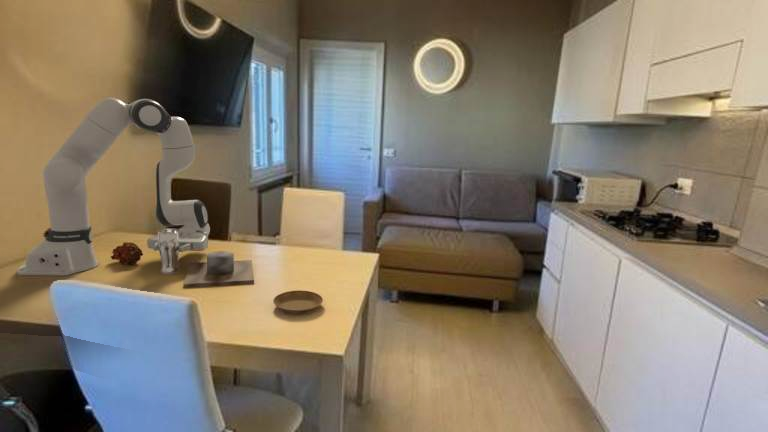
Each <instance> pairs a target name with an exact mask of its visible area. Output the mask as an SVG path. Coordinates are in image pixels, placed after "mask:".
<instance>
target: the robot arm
mask: <svg viewBox="0 0 768 432" xmlns="http://www.w3.org/2000/svg"><path fill="white" fill-rule="evenodd" d="M130 126H135V127H137V128H138V129H140V130H142V131H143V130H144V131H147V132H151V133H156V134H157V135H158V137H159V139H160V142H161V148H162V157H161V160H160V161H158V163H157V164H156V168H155V169H156V171H155V178H156V179H155V181H156V207H155V218H156V221H157V222H158V223H159V224H161V225H162V226H163V227H165V228H170V227H175V226H182V227H180V228H178V230H179V237H180V247H179V253H183V252H188V251H189V252H190V251H191V252H204V251H205V250H207V249H208V248H209V247H208V246H209V235H210V232H211V227H210V224H209V211H208V208H207V206H206V205H205V204H204V202H202V201H201V200H200V199H188V200H187V199H186V200H173V199H172V193H171V190H172V189H171V187H172V185H171V184H172V183H171V180H172V178H173V177H174V176H175V175H176V174H178V173H179V172H182V171H185V170H186V169H188V168H190V167H191V166H192V164H193V163H194V162H195V159H196V151H195V150H196V148H195V145H194V139H193V135H192V132H191V129H190V126H189V125H188V122H187V120H186V119H184V118H182V117H180V116H171V115H170V114H169V112H167V111H166V109H165V108H164V107H163V106H162V105H161V104H160V103H158V102H157V101H155V100H153V99H150V98H141V99H137V100H134V101H131V102H128V103H125V102H123V100H120V99H118V98H115V97H106V98H104V99H103V100H102V101H100V102H99V103H97V105H96V106H94V107H93V108H92V109H91V110H90V111H89V112H88V114H86V117H84V118H83V119H82V121H81V122H80V123H79V125H78V126H77V127H76V128H75V130H74V131H72V133H71V134H70V136H69V137H68V138H67V139H66V140H65V142H64V143H63V144H62V145H61V147H60V148H59V149H58V150H57V152H56V153H55V154H54V155H53V156H52V158H51V159H50V160H49V161H48V162H47V163H46V165H45V166H44V168H43V170H42V171H43V172H42V177H43V182H44V183H43V184H44V189H45V191H44V192H45V195H46V202H47V205H48V214H49V215H48V216H49V224H50V226H49V227H48V228H47V229H46V230H45V231H44V232H43V233H42V236H43V237H44V240H43V241H42V242H41V243H39V244H37V245H36V246H35V247H34V248H32V249H31V250H30V251H28V253H27V254H26V257H25V258H26V259H25V263H24V264H22V265H21V266H20V267H18V269H17V275H18V276H68V275H72V274H76V273H79V272H84V271H87V270H91V269H94V268H95V267H97V266H99V261H98V260H97V257H96V254H95V251H94V247H93V238H94V237H93V231H92V230H93V229H92V226H91V224H90V214H89V205H88V196H87V195H88V193H87V186H86V185H87V184H86V176H87V175H88V174H89V173H90V171H91V170H92V169H93V168H94V167H95V165H96V164H97V163H98V162H99V161H100V160H101V159H102V157H104V155H105V154H106V153H107V152H108V150H109V149H110V148H111V146H113V144H114V143H115V141H117V139H118V137H119V136H120V135H121V133H122V132H123V131H124V130H125V129H126V128H128V127H130ZM146 246H147V248H148V249H151V250H152V249H153V251H157V252H158V251H159V248H158V234H157V235H154V236H151V237H148V238H147V241H146Z"/></svg>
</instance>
